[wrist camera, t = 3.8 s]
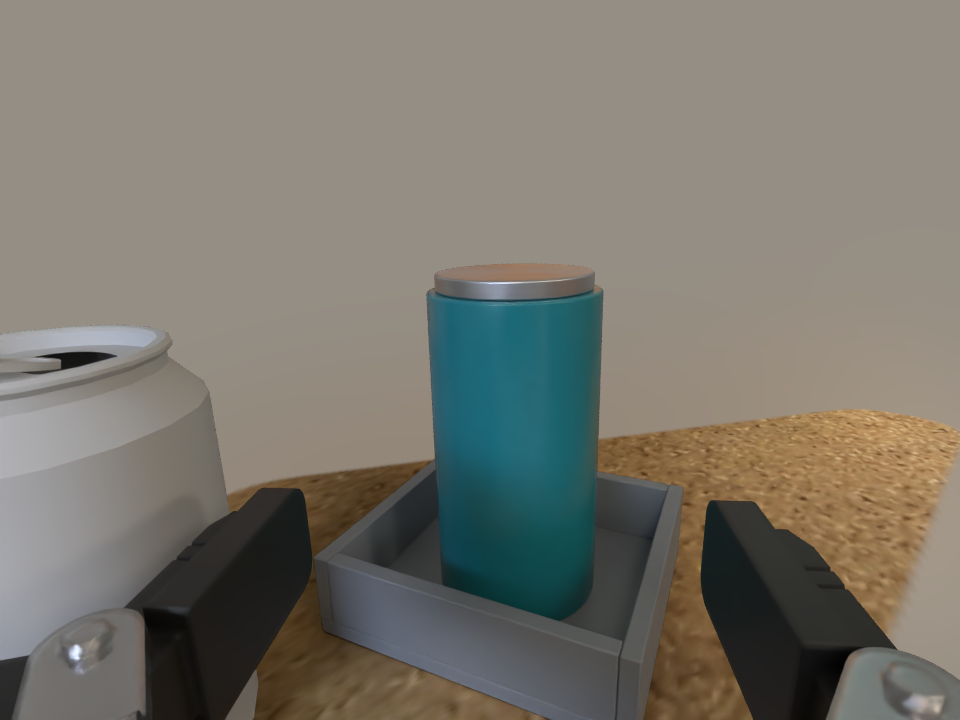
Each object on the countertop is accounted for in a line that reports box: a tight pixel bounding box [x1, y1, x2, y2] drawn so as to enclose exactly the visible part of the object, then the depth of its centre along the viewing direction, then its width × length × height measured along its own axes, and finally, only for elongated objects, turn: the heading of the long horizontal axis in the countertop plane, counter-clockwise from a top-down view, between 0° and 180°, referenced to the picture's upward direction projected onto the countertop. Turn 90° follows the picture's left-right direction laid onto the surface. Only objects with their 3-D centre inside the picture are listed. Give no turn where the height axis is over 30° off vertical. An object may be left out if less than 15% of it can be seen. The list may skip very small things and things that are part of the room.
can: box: [0, 325, 259, 720], centre depth 14 cm, size 8×8×12 cm
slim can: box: [426, 264, 603, 621], centre depth 20 cm, size 6×6×12 cm
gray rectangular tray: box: [313, 459, 683, 720], centre depth 21 cm, size 11×10×3 cm
